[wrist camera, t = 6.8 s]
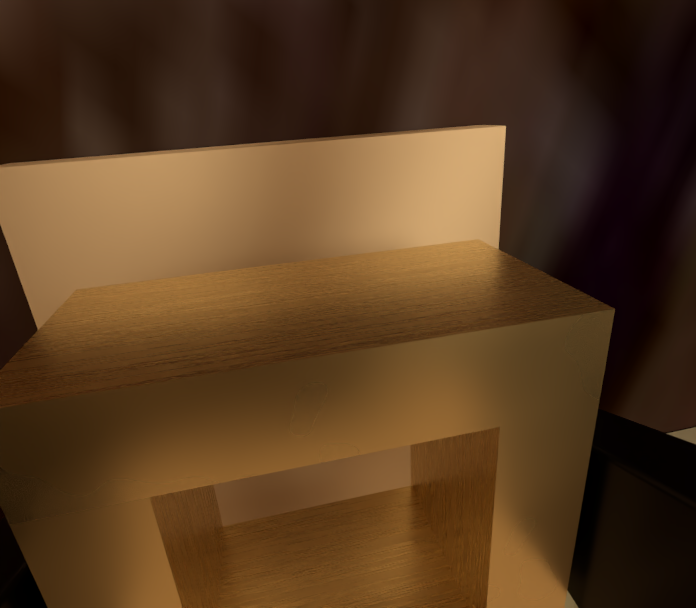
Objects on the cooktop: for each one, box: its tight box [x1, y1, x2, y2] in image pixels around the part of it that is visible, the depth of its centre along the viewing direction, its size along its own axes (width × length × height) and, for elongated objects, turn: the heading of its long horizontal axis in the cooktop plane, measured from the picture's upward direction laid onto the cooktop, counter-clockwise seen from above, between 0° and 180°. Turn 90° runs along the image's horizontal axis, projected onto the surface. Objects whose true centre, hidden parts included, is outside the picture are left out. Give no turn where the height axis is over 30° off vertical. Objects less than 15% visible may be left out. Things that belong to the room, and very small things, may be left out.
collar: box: [0, 239, 615, 608], centre depth 7 cm, size 6×6×3 cm
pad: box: [0, 125, 506, 526], centre depth 10 cm, size 9×9×1 cm
